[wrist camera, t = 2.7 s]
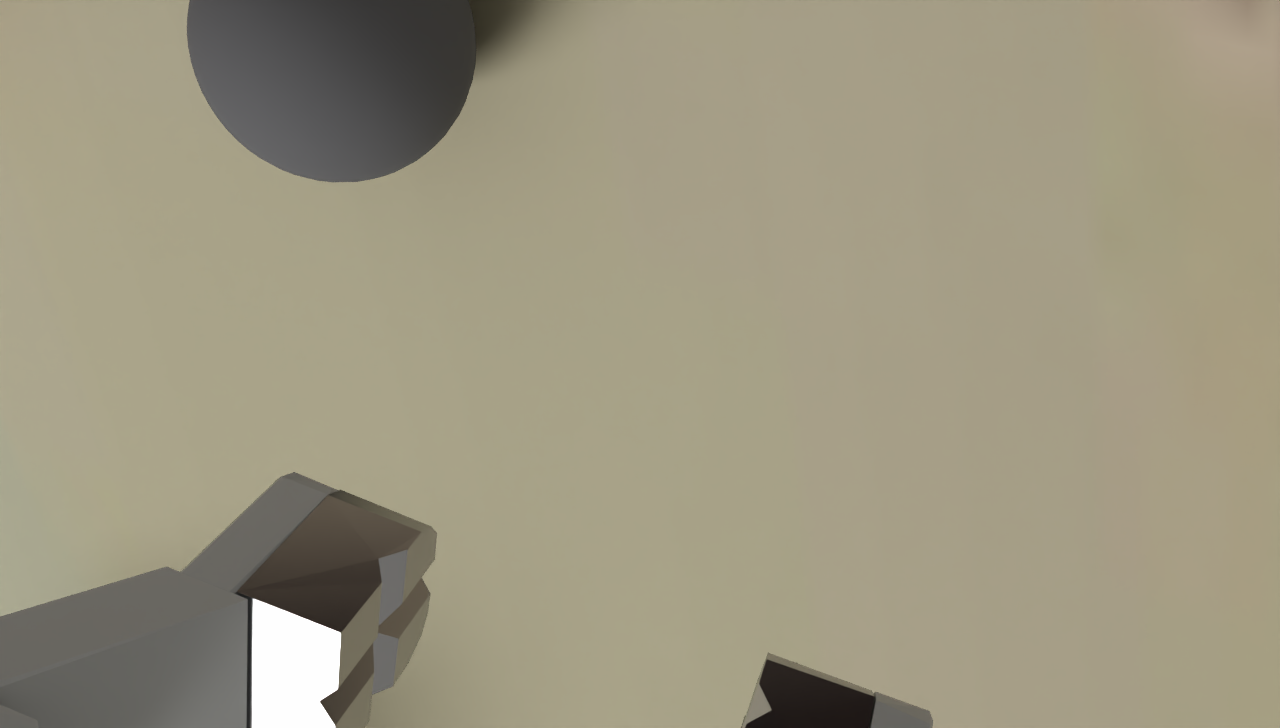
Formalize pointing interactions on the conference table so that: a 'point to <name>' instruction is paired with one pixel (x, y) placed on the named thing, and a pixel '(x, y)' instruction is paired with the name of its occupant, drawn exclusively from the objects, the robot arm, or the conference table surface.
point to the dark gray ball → (334, 79)
